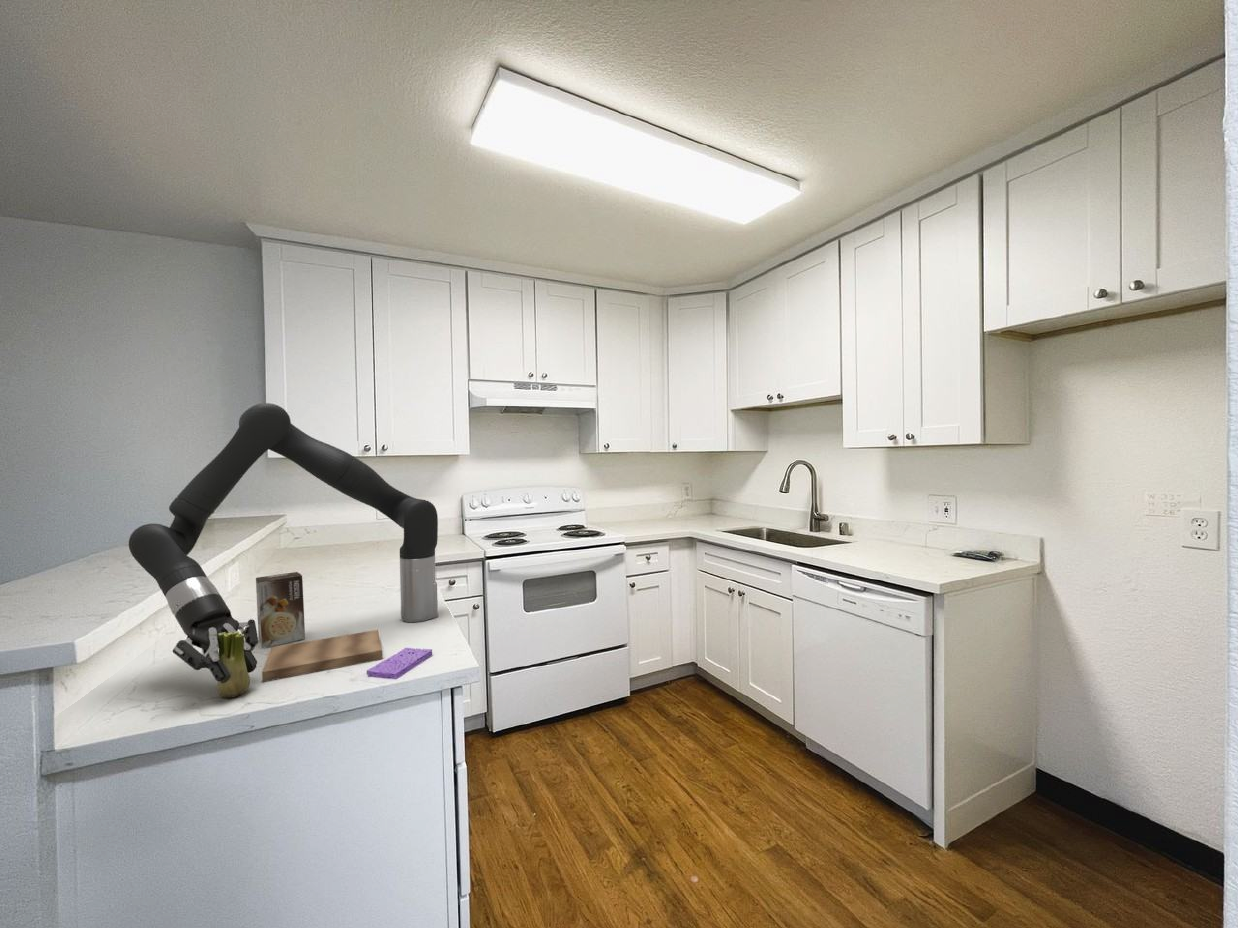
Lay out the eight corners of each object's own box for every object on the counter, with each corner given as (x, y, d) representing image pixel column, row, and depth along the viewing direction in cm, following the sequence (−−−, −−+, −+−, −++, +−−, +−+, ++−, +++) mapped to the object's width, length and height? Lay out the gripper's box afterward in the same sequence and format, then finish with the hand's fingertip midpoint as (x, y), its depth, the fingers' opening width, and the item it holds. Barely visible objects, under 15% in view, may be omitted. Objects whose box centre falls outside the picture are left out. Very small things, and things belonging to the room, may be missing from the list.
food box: (301, 632, 129) (299, 570, 129) (305, 639, 124) (303, 575, 124) (257, 641, 123) (255, 577, 123) (260, 649, 118) (258, 581, 118)
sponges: (432, 657, 113) (432, 649, 113) (395, 681, 101) (395, 672, 101) (406, 654, 115) (405, 646, 115) (366, 678, 103) (365, 669, 103)
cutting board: (378, 637, 124) (378, 629, 124) (382, 658, 111) (382, 649, 111) (271, 655, 114) (271, 647, 114) (262, 681, 101) (262, 672, 101)
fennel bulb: (215, 694, 96) (213, 632, 96) (246, 685, 99) (244, 625, 99) (221, 703, 92) (219, 639, 92) (253, 694, 96) (252, 632, 95)
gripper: (162, 603, 91) (206, 679, 87) (244, 584, 105) (286, 648, 100) (146, 629, 93) (188, 704, 89) (228, 606, 107) (268, 671, 102)
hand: (239, 674), depth 95 cm, fingers closed on fennel bulb, 4 cm apart
